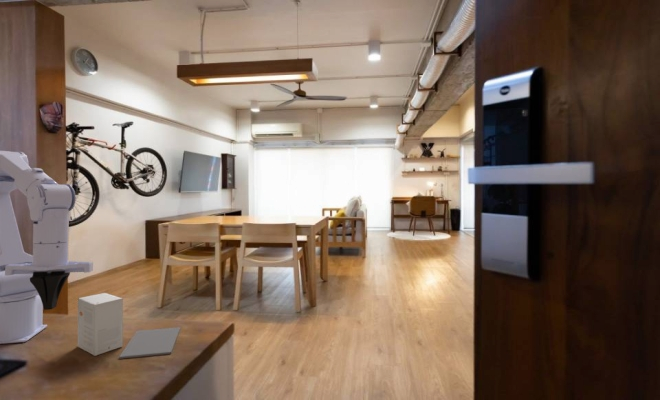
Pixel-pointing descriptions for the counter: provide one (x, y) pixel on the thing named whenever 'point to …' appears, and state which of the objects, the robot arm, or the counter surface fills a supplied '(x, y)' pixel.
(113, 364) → the counter surface
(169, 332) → the gray mat
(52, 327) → the counter surface
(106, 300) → the small box
